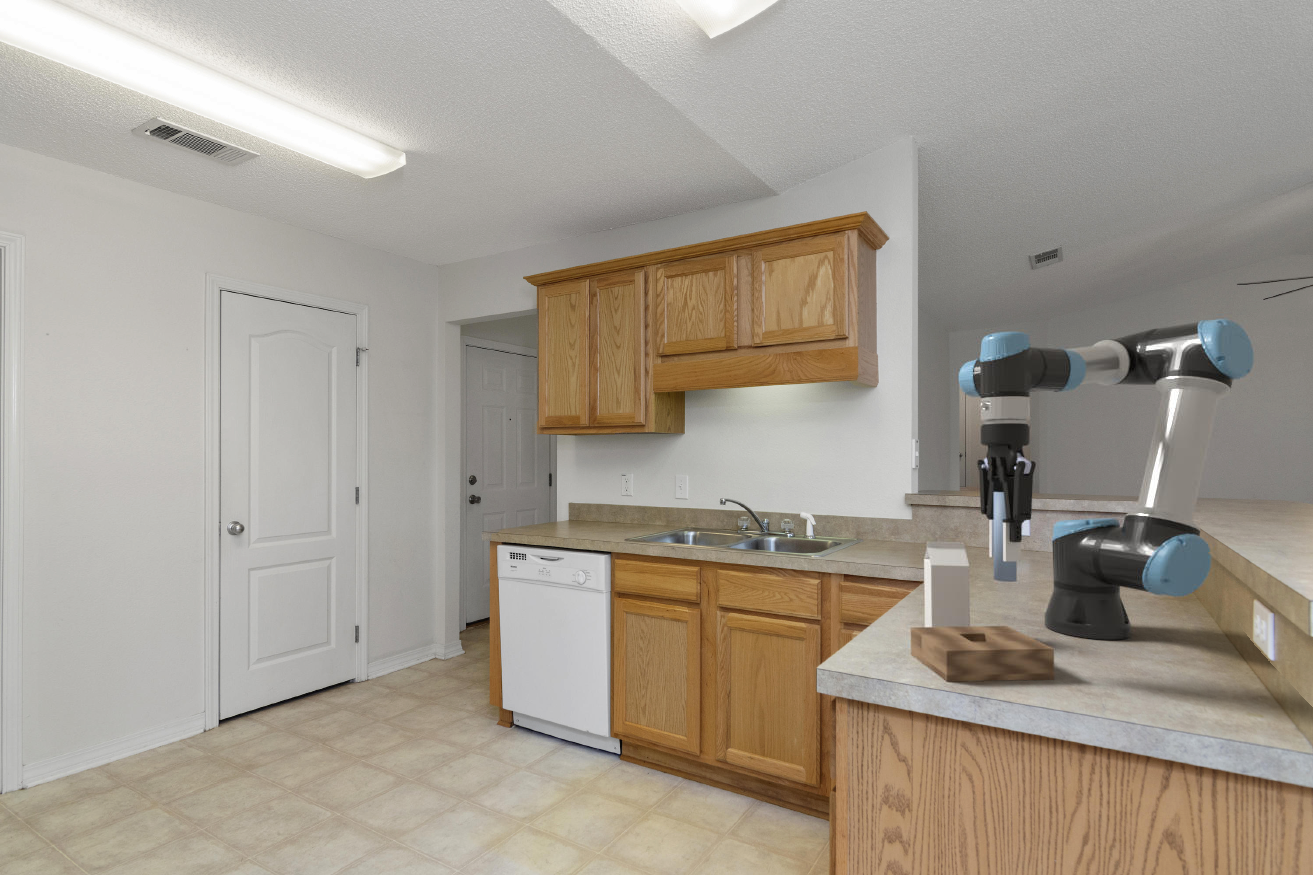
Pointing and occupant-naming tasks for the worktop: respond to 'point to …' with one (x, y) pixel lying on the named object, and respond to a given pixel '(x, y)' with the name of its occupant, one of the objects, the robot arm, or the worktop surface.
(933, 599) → the milk carton
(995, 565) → the pin
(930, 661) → the bore block
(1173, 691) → the worktop surface
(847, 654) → the worktop surface
